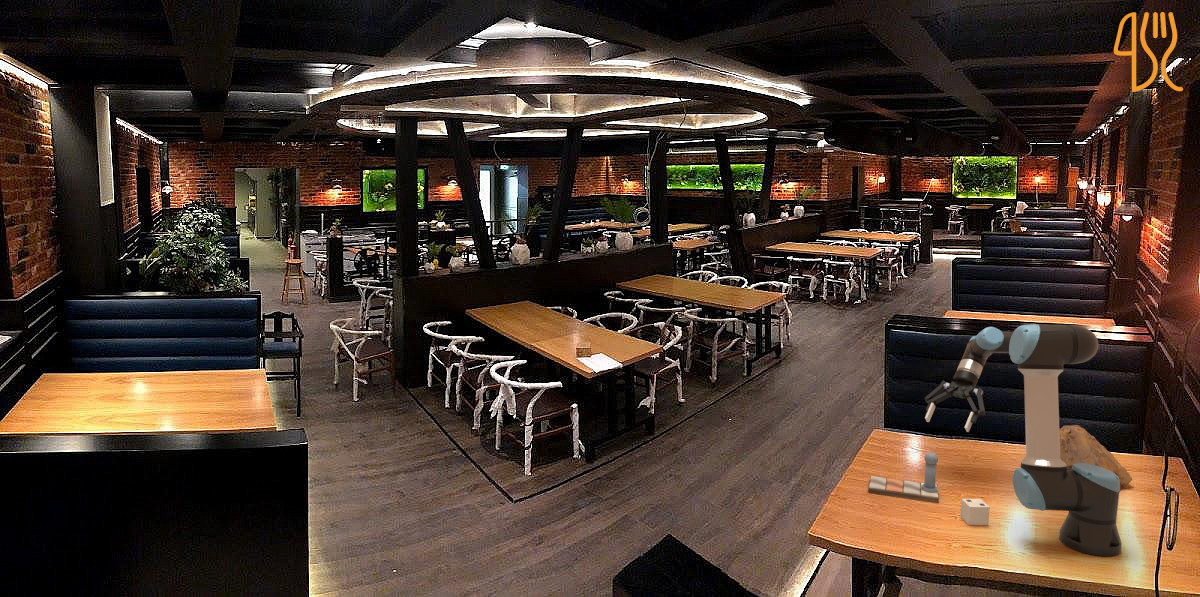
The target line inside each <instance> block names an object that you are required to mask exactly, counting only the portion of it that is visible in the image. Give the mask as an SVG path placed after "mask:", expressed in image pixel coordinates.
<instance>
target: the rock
mask: <svg viewBox="0 0 1200 597" xmlns="http://www.w3.org/2000/svg"><path fill="white" fill-rule="evenodd" d="M1059 434H1060V458H1061V460H1062V461H1063V462H1064V463H1065V464H1066V465H1067V470H1072V466H1073V464H1076V463H1086V464H1091V465H1095V466H1099V467H1102V468H1105V469H1107V470H1109V471H1111V472H1113V473H1115V474H1116V475H1117V476H1118V477H1119V479H1120V486H1126V485H1129V484H1130V483H1131V482H1132V481H1133V477H1132V476H1131V475H1130V473H1129V472H1128V470H1127V468H1125V467H1123V466H1122V464H1121V463H1120V462H1119V461H1118V459H1117V458H1116V457H1115V456H1114V454H1113V453H1112V452H1111V451H1109V450H1107V449H1106V447H1105V446H1104V445H1102V444H1101V443H1100V442H1099V441H1098V440H1097V438H1096V437H1095V436H1094V435H1091V434H1090V433H1089V432H1088V431H1087V430H1086V429H1085V428H1084V427H1081V426H1080V425H1078V424H1074V425H1073V424H1072V425H1063V426H1062V427H1061V428H1059Z"/></svg>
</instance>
